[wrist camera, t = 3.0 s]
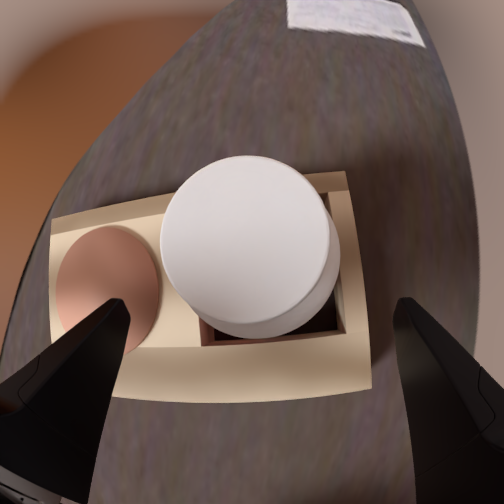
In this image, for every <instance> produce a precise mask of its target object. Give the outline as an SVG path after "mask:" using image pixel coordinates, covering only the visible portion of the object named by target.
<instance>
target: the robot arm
mask: <svg viewBox="0 0 504 504" xmlns="http://www.w3.org/2000/svg"><path fill="white" fill-rule="evenodd" d="M130 322H131V316H130V313H129V311H128V309H127V307H126V305H125V303H124V301H123V300H122V299H121V298H110V299H109V300H107V301H106V302H105V303H104V304H102V305H101V306H100V307H98V308H97V309H96V310H94V311H93V312H92V313H90V314H89V315H88V316H87V317H85V318H84V319H83V320H81V321H80V322H79V323H78V324H76V325H75V326H74V327H72V328H71V329H70V330H69V331H67V332H66V333H65V334H64V335H62V336H61V337H60V338H59V339H57V340H56V341H55V342H54V343H52V344H51V345H50V346H49V347H47V348H46V349H45V350H44V351H43V352H41V353H40V354H39V355H38V356H36V357H35V358H34V359H33V360H32V361H30V362H29V363H28V364H27V365H25V366H24V367H23V368H21V369H20V370H19V371H17V372H16V373H15V374H13V375H12V376H10V377H9V378H8V379H6V380H5V381H4V382H2V383H1V384H0V504H62V503H60V501H61V498H62V497H64V498H67V499H69V500H72V501H74V502H77V503H80V504H87V503H88V498H89V493H90V487H91V482H92V477H93V472H94V467H95V462H96V457H97V452H98V448H99V443H100V439H101V435H102V431H103V427H104V423H105V419H106V415H107V411H108V408H109V404H110V400H111V397H112V393H113V389H114V386H115V383H116V379H117V376H118V372H119V369H120V366H121V363H122V359H123V355H124V350H125V345H126V341H127V336H128V331H129V327H130ZM393 329H394V337H395V345H396V354H397V363H398V369H399V374H400V379H401V384H402V389H403V394H404V400H405V405H406V411H407V417H408V424H409V430H410V437H411V445H412V453H413V462H414V473H415V486H416V503H417V504H504V389H503V388H502V387H501V386H500V385H499V384H498V383H497V382H496V381H495V380H494V379H493V378H492V377H491V376H490V375H489V374H488V373H487V372H486V370H485V369H484V368H483V367H482V366H480V364H479V363H478V362H477V361H476V360H475V359H474V358H473V357H472V356H471V355H470V354H469V353H468V352H467V351H466V350H465V349H464V347H463V346H462V345H461V344H460V343H459V342H458V341H457V340H456V339H455V338H454V337H453V336H452V335H451V334H450V333H449V332H448V331H447V330H446V329H444V328H443V327H442V326H441V325H440V324H439V323H438V322H437V321H436V320H435V319H434V318H433V317H432V316H431V315H430V314H429V313H428V312H427V311H426V310H425V309H424V308H423V307H422V306H420V305H419V304H418V303H417V302H416V301H415V300H414V299H413V298H411V297H403V298H399V300H398V302H397V305H396V308H395V311H394V314H393Z"/></svg>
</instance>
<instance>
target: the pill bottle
mask: <svg viewBox="0 0 504 504" xmlns="http://www.w3.org/2000/svg"><path fill="white" fill-rule="evenodd" d="M160 251H161V258H162V262H163V266H164V269H165V272H166V274H167V276H168V278H169V281H170V282H171V284H172V286H173V287H174V288H175V290H176V291H177V293H178V294H179V295H180V296H181V297H182V298H183V300H185V301H186V302H187V303H188V304H189V306H190V307H191V308H192V310H193V311H194V312H195V313H196V314H197V315H198V316H199V317H200V318H201V319H202V320H204V321H205V322H206V323H207V324H209V325H210V326H212V327H214V328H215V329H217V330H219V331H221V332H223V333H226V334H229V335H232V336H236V337H240V338H247V339H263V338H271V337H276V336H279V335H282V334H285V333H288V332H290V331H292V330H294V329H296V328H298V327H300V326H301V325H303V324H304V323H306V322H307V321H308V320H310V319H311V318H312V317H313V316H314V315H315V314H316V313H317V312H318V311H319V310H320V309H321V308H322V307H323V305H324V304H325V302H326V301H327V299H328V298H329V296H330V294H331V292H332V290H333V288H334V285H335V283H336V280H337V277H338V272H339V266H340V244H339V238H338V234H337V231H336V228H335V225H334V223H333V221H332V219H331V217H330V215H329V213H328V211H327V210H326V208H325V206H324V204H323V201H322V199H321V197H320V196H319V194H318V193H317V191H316V190H315V188H314V187H313V186H312V185H311V183H310V182H309V181H308V180H307V179H306V178H305V177H304V176H303V175H301V174H300V173H299V172H297V171H296V170H295V169H293V168H291V167H290V166H288V165H286V164H284V163H282V162H279V161H276V160H274V159H270V158H267V157H260V156H236V157H230V158H226V159H222V160H219V161H216V162H214V163H212V164H210V165H208V166H206V167H204V168H202V169H200V170H199V171H197V172H196V173H195V174H194V175H192V176H191V177H190V178H189V179H187V180H186V181H185V182H184V184H183V185H182V186H181V187H180V188H179V189H178V190H177V192H176V193H175V195H174V196H173V198H172V200H171V202H170V203H169V205H168V207H167V210H166V212H165V215H164V218H163V222H162V227H161V233H160Z"/></svg>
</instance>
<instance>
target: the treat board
mask: <svg viewBox="0 0 504 504" xmlns="http://www.w3.org/2000/svg"><path fill="white" fill-rule="evenodd" d="M303 176H304V177H305V178H306V179H307V180H308V181H309V182H310V183H311V185H312V186H313V187H314V188H315V190H316V191H317V193H318V194H319V196H320V197H321V199H322V201H323V204H324V206H325V208H326V210H327V211H328V213H329V215H330V217H331V219H332V221H333V223H334V225H335V228H336V231H337V234H338V238H339V244H340V266H339V272H338V277H337V280H336V283H335V285H334V296H335V306H336V316H337V327H338V330H331V331H323V332H315V333H306V334H297V335H287V336H277V337H271V338H263V339H238V340H221V341H215V336H214V327H212V326H210V325H209V324H207V323H206V322H205V321H204V320H202V319H201V318H200V317H199V316H198V315H197V314H196V313H195V312H194V311H193V310H192V308H191V307H190V306H189V304H188V303H187V302H186V301H185V300H183V298H182V297H181V296H180V295H179V294H178V293H177V291H176V290H175V288H174V287H173V286H172V284H171V282H170V281H169V278H168V276H167V274H166V272H165V269H164V266H163V262H162V258H161V251H160V233H161V227H162V222H163V218H164V215H165V212H166V210H167V207H168V205H169V203H170V202H171V200H172V198H173V196H174V195H175V193H176V192H175V193H170V194H164V195H159V196H154V197H148V198H143V199H138V200H133V201H128V202H124V203H119V204H114V205H110V206H105V207H101V208H96V209H92V210H88V211H84V212H79V213H75V214H71V215H67V216H63V217H59V218H56V219H52V225H51V238H50V257H49V309H50V327H51V340H52V343H54V342H55V341H56V340H57V339H59V338H60V337H61V336H62V335H64V334H65V333H66V332H67V331H69V330H70V329H71V328H72V327H74V326H75V325H76V324H78V323H79V322H80V321H81V320H83V319H84V318H85V317H87V316H88V315H89V314H90V313H92V312H93V311H94V310H96V309H97V308H98V307H100V306H101V305H102V304H104V303H105V302H106V301H107V300H109V299H110V298H121V299H122V300H123V301H124V303H125V305H126V307H127V309H128V311H129V313H130V316H131V322H130V327H129V331H128V336H127V341H126V345H125V350H124V355H123V359H122V363H121V366H120V369H119V372H118V376H117V379H116V383H115V386H114V389H113V393H112V396H114V397H123V398H132V399H142V400H154V401H170V402H194V403H237V402H262V401H278V400H290V399H301V398H310V397H319V396H327V395H334V394H341V393H348V392H354V391H360V390H365V389H371V388H372V384H371V359H370V342H369V329H368V317H367V306H366V297H365V288H364V280H363V272H362V264H361V257H360V250H359V244H358V237H357V231H356V225H355V219H354V214H353V208H352V203H351V198H350V193H349V188H348V183H347V178H346V174H345V171H338V172H326V173H315V174H305V175H303Z"/></svg>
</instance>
